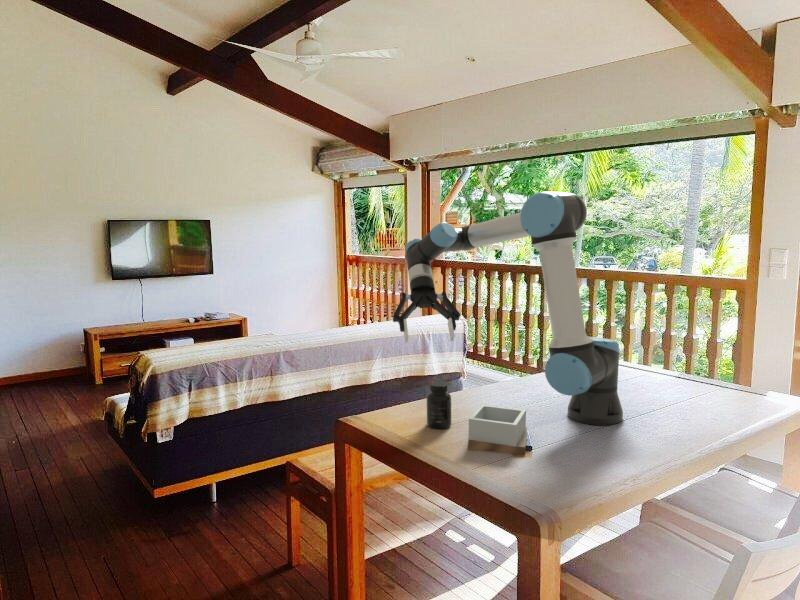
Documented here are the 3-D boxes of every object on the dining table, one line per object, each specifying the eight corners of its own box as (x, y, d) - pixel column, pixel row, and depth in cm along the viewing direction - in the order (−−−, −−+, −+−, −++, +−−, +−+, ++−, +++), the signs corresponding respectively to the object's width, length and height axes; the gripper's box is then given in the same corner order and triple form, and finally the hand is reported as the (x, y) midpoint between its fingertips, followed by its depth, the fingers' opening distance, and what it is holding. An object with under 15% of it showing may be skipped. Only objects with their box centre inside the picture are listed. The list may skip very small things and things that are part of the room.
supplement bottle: (427, 420, 170) (427, 380, 168) (451, 421, 169) (451, 380, 167) (425, 429, 163) (425, 387, 161) (450, 430, 162) (450, 387, 160)
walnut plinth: (526, 436, 159) (526, 427, 159) (525, 456, 146) (525, 447, 145) (474, 432, 162) (474, 423, 162) (467, 452, 149) (468, 442, 149)
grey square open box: (525, 430, 157) (526, 410, 156) (515, 446, 146) (516, 425, 145) (481, 424, 161) (481, 404, 161) (468, 439, 150) (468, 418, 150)
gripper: (458, 288, 191) (469, 344, 178) (381, 290, 188) (386, 347, 175) (462, 274, 185) (473, 331, 172) (382, 275, 182) (388, 333, 169)
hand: (429, 339), depth 174 cm, fingers open, 13 cm apart
